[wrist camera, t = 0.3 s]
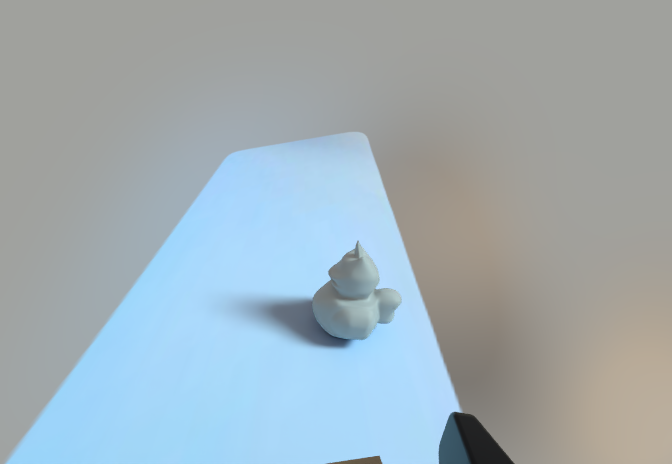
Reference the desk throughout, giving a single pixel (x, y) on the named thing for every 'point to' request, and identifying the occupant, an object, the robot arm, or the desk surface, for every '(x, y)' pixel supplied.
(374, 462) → the domino
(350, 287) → the grey lumpy figure
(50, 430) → the desk surface
